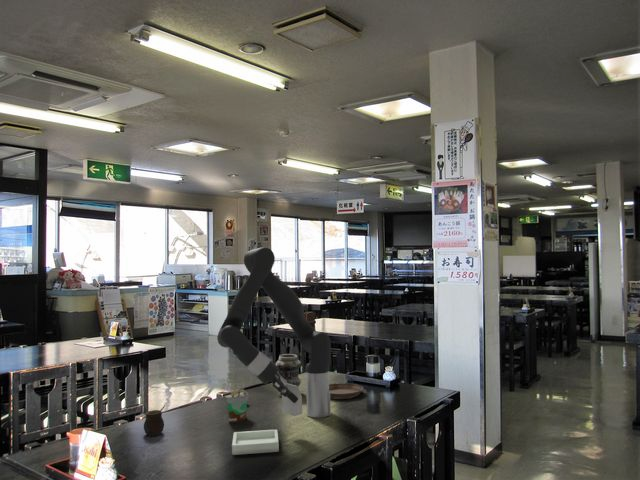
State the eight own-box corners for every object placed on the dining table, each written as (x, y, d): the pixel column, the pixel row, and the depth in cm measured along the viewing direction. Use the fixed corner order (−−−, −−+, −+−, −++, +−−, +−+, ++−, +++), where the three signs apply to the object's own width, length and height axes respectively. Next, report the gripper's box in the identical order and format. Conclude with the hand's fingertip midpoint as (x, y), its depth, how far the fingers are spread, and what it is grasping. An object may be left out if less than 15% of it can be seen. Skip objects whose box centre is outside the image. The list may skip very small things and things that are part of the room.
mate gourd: (142, 432, 188) (142, 405, 188) (164, 429, 191) (163, 402, 192) (144, 438, 181) (144, 410, 182) (166, 435, 184) (165, 407, 185)
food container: (242, 424, 194) (242, 398, 195) (227, 424, 196) (227, 397, 196) (253, 415, 206) (252, 390, 207) (239, 414, 208) (238, 389, 208)
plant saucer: (321, 389, 247) (321, 382, 247) (364, 389, 244) (364, 382, 244) (315, 400, 226) (315, 393, 227) (362, 401, 224) (361, 393, 224)
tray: (277, 438, 178) (277, 429, 178) (278, 451, 165) (278, 442, 166) (234, 441, 176) (233, 432, 177) (232, 454, 164) (232, 445, 164)
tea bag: (294, 416, 178) (293, 387, 179) (282, 412, 183) (281, 384, 183) (302, 413, 181) (301, 385, 181) (290, 409, 186) (289, 382, 186)
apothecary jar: (300, 397, 232) (299, 357, 233) (274, 397, 232) (273, 358, 233) (301, 390, 244) (301, 352, 245) (277, 391, 244) (276, 353, 245)
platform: (262, 404, 223) (262, 389, 223) (226, 413, 211) (226, 397, 211) (247, 399, 232) (247, 385, 232) (212, 407, 220) (211, 392, 220)
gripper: (270, 363, 175) (304, 395, 176) (269, 355, 189) (301, 385, 190) (255, 380, 174) (289, 411, 175) (255, 371, 188) (287, 400, 189)
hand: (295, 398), depth 182 cm, fingers closed on tea bag, 7 cm apart
